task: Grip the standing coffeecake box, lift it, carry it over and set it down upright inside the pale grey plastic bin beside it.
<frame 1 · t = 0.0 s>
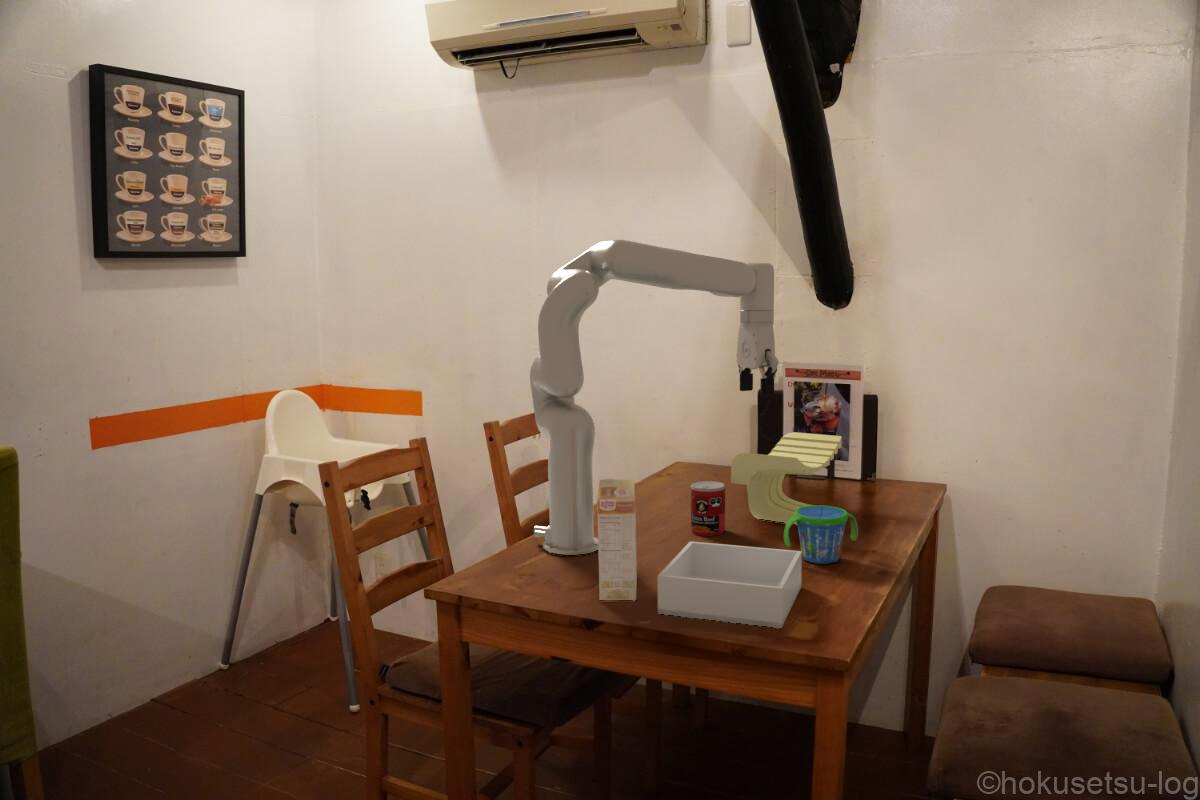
hand: (756, 393, 215), 31 cm above the table, tool pointing down, fingers open, 9 cm apart
coffeecake box: (618, 589, 179), on the table
slatted curved stool: (787, 516, 227), on the table
snack cup: (820, 560, 194), on the table
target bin: (732, 600, 171), on the table
canned food: (707, 532, 215), on the table
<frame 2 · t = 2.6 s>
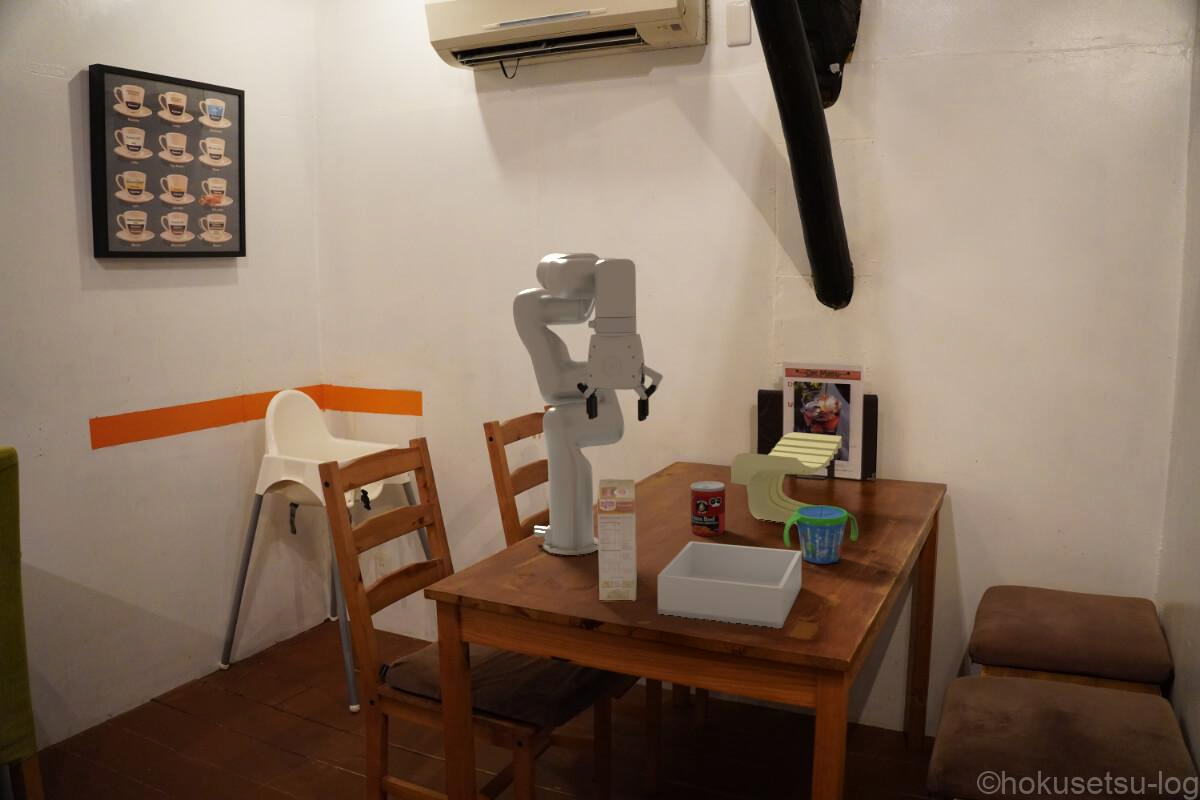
hand: (617, 419, 174), 32 cm above the table, tool pointing down, fingers open, 9 cm apart
nothing on the table moved.
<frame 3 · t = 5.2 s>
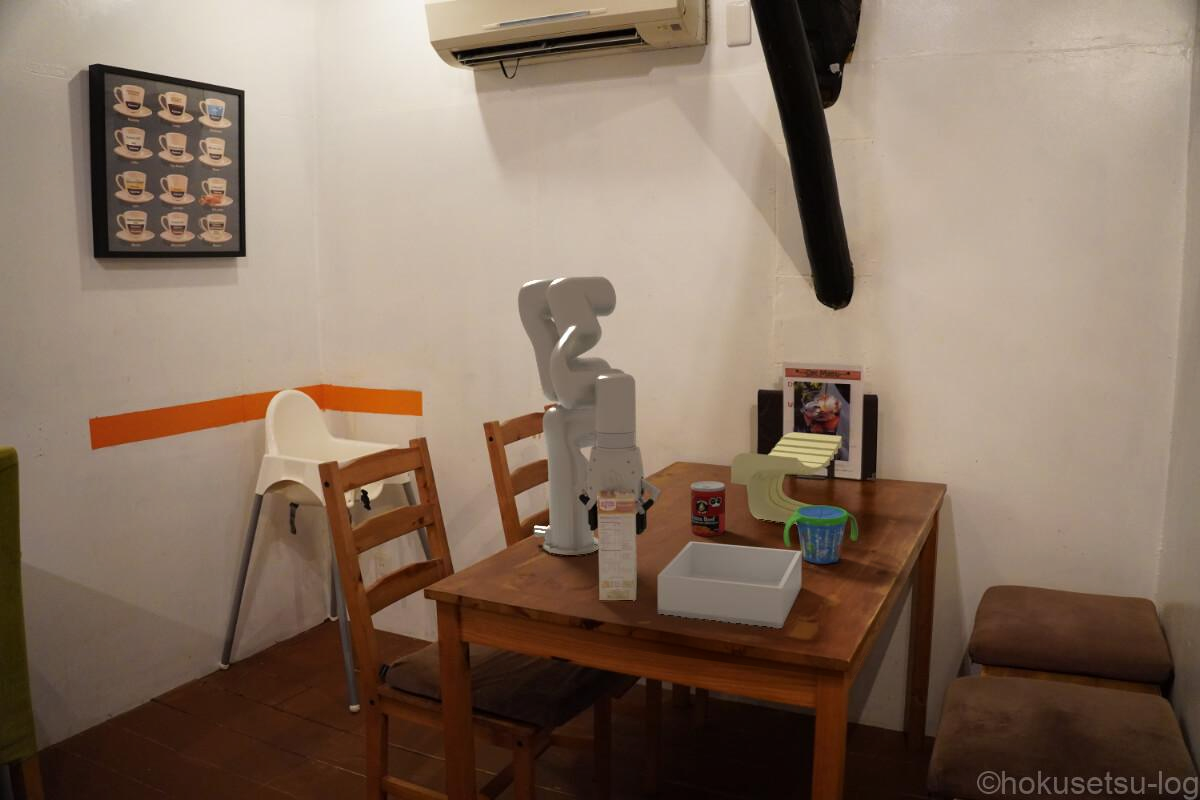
hand: (617, 530, 177), 11 cm above the table, tool pointing down, fingers closed on coffeecake box, 8 cm apart
coffeecake box: (618, 588, 179), on the table, touching gripper
everything else where it was.
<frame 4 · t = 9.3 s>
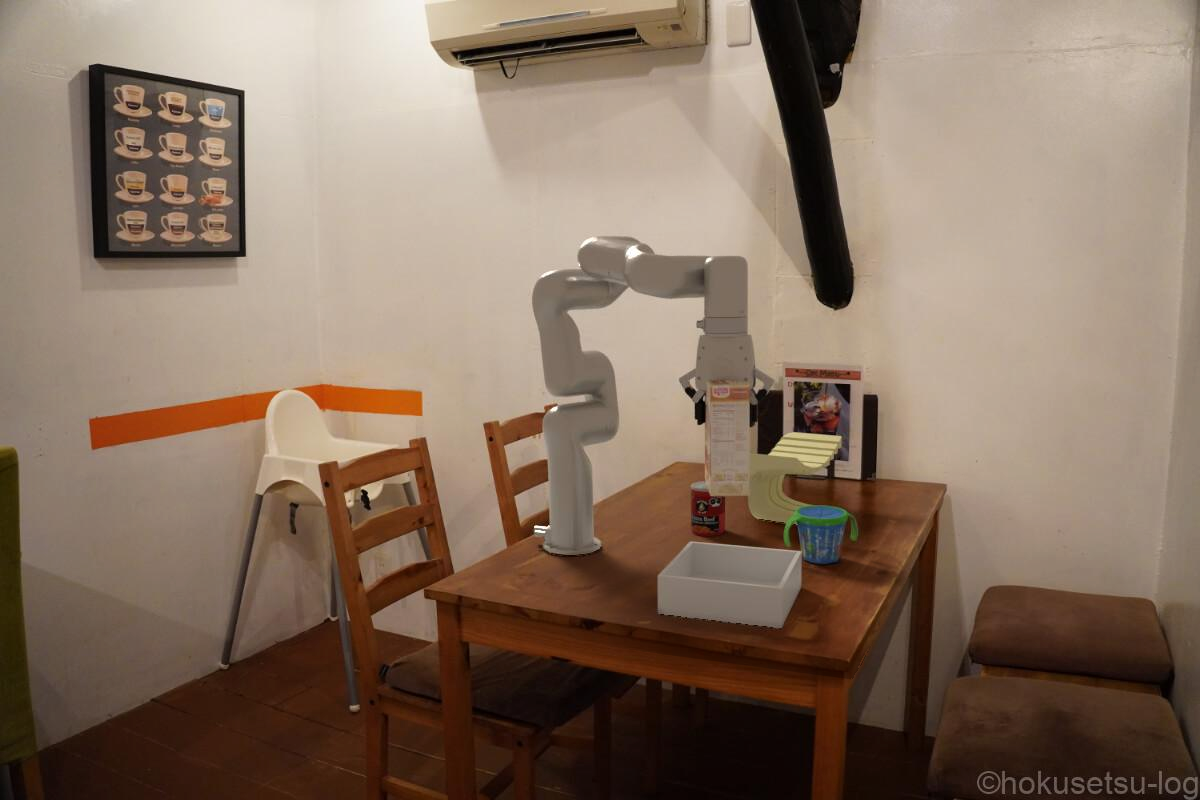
hand: (726, 424, 167), 32 cm above the table, tool pointing down, fingers closed on coffeecake box, 8 cm apart
coffeecake box: (726, 487, 168), point 21 cm above the table, touching gripper
everything else where it was.
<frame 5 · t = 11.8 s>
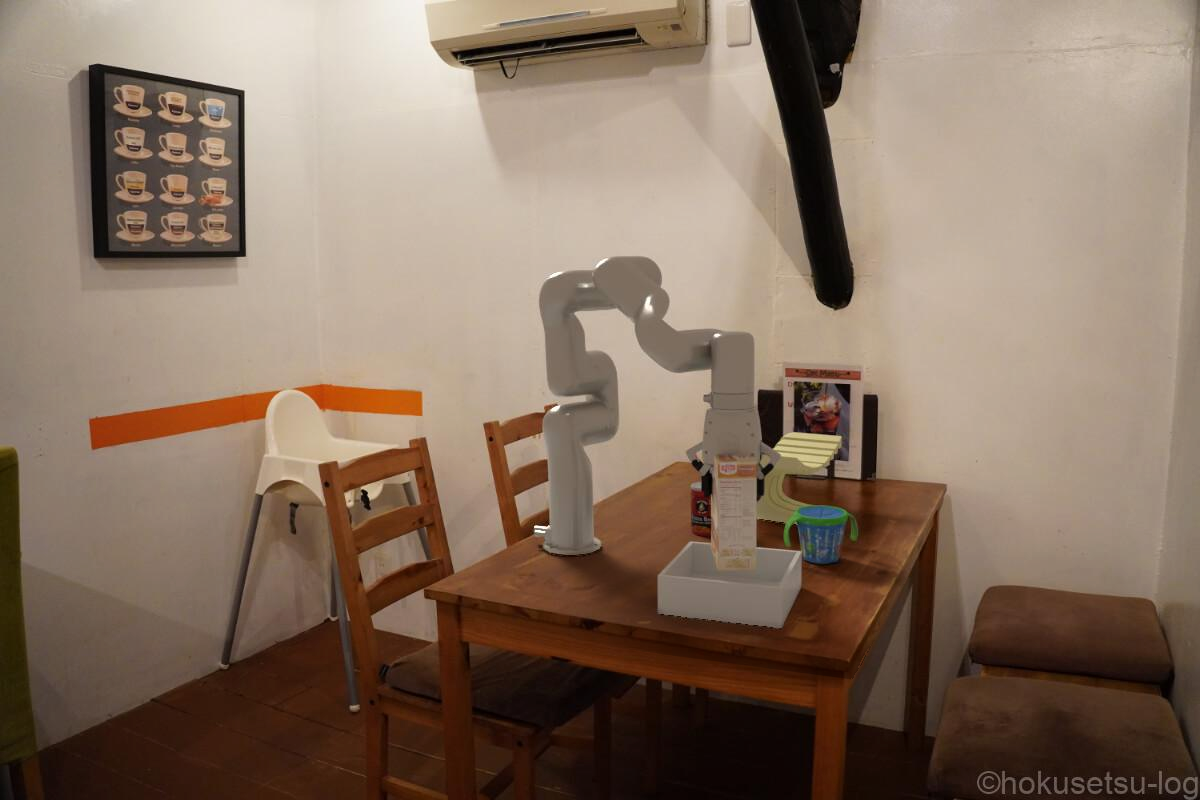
hand: (732, 497, 168), 19 cm above the table, tool pointing down, fingers closed on coffeecake box, 8 cm apart
coffeecake box: (732, 559, 170), point 8 cm above the table, touching gripper
everything else where it was.
when the fingers open (14 cm above the table, at t = 13.6 s): coffeecake box drops 2 cm, resting on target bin.
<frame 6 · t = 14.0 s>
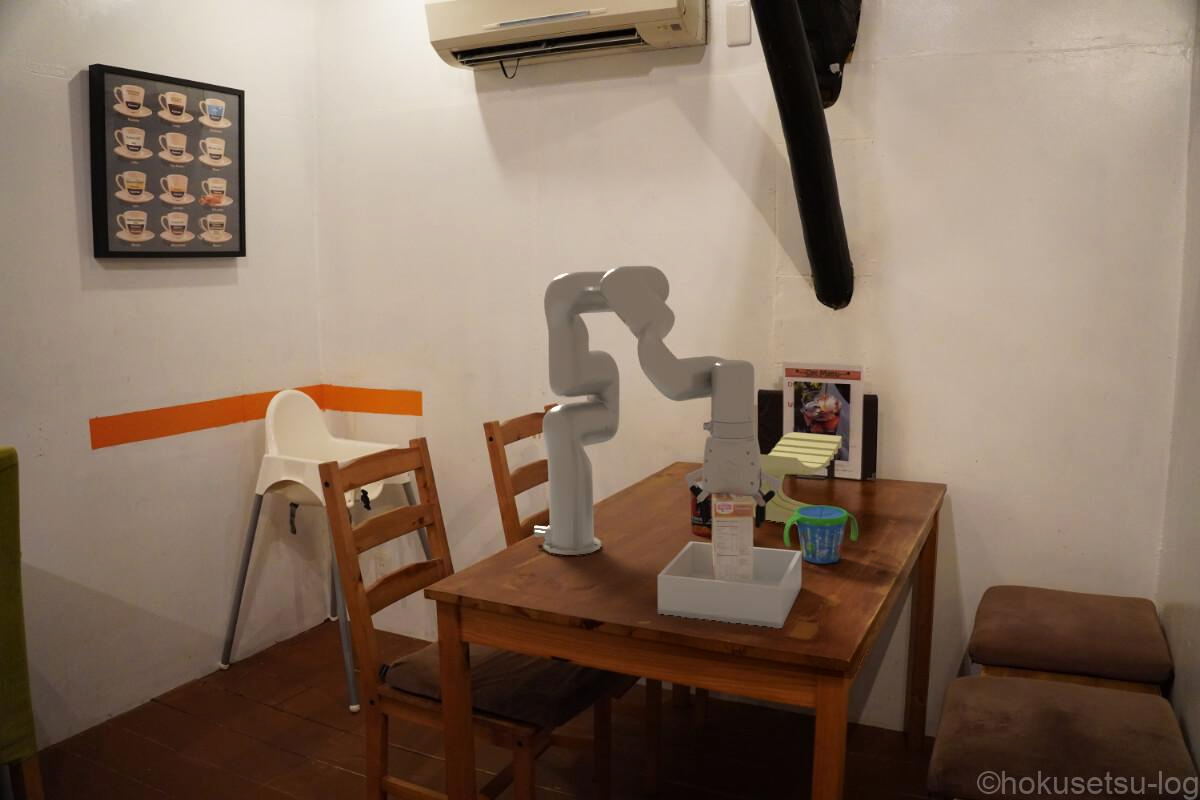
hand: (732, 523, 169), 14 cm above the table, tool pointing down, fingers open, 9 cm apart
coffeecake box: (732, 595, 171), point 1 cm above the table, touching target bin
everything else where it was.
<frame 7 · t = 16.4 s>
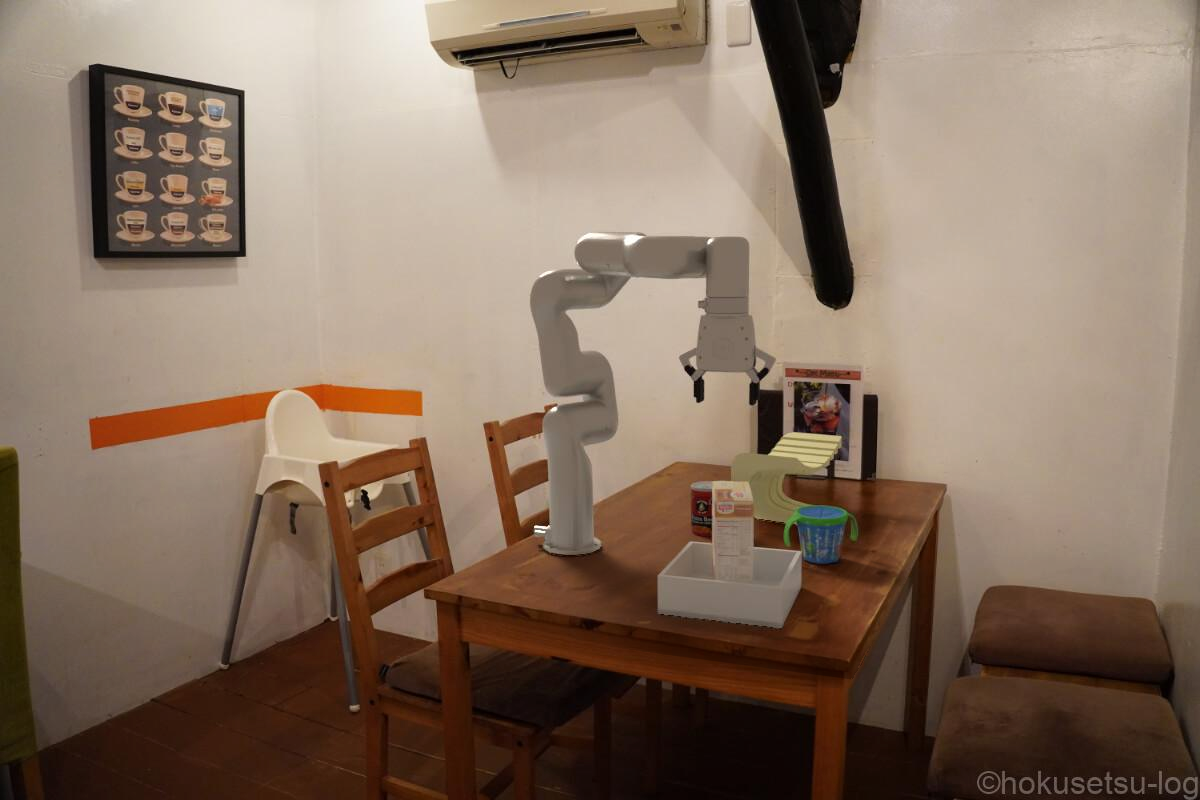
hand: (726, 403, 169), 36 cm above the table, tool pointing down, fingers open, 9 cm apart
nothing on the table moved.
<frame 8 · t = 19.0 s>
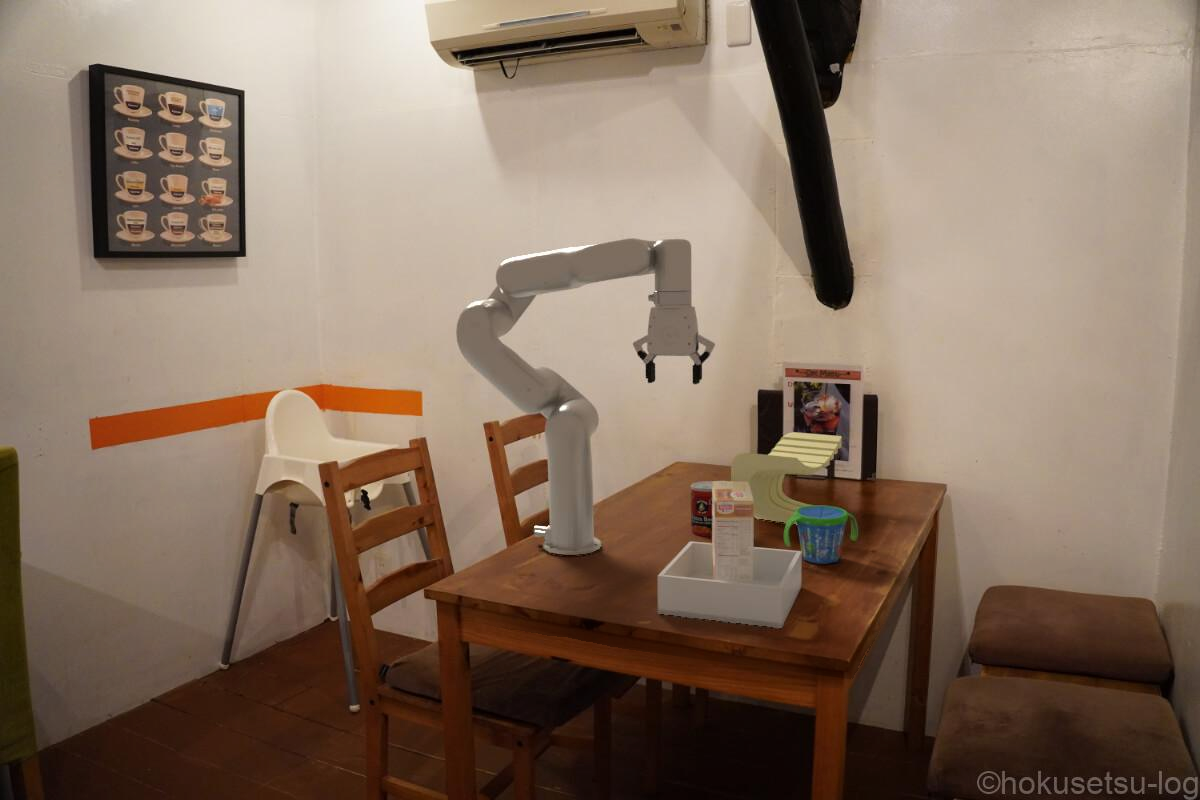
hand: (673, 382, 195), 36 cm above the table, tool pointing down, fingers open, 9 cm apart
nothing on the table moved.
at the end: coffeecake box inside the target area on the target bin (0.1 cm from its centre), point 0.8 cm above the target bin's base; coffeecake box tilted 0°; the gripper is holding nothing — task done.
